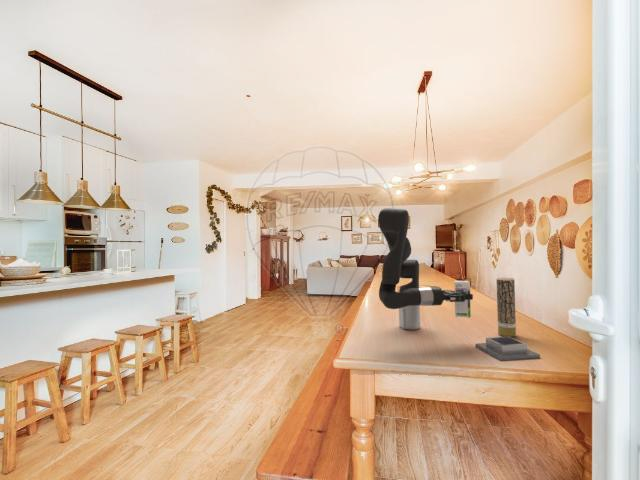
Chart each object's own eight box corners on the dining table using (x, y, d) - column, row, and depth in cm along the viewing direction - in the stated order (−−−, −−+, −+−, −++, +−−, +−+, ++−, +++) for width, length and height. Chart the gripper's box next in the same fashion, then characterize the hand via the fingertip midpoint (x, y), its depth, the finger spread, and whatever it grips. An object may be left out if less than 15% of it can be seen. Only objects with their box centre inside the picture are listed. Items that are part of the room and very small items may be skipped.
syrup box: (455, 316, 130) (454, 281, 130) (454, 313, 136) (454, 279, 136) (470, 318, 128) (470, 281, 128) (469, 314, 134) (469, 280, 134)
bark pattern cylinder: (518, 337, 136) (516, 279, 136) (501, 337, 137) (499, 279, 138) (512, 333, 143) (510, 277, 143) (495, 332, 144) (494, 277, 144)
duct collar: (500, 360, 112) (499, 348, 112) (475, 346, 127) (475, 336, 127) (540, 358, 113) (539, 346, 113) (511, 344, 128) (510, 333, 128)
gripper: (436, 289, 124) (476, 288, 125) (421, 284, 138) (457, 283, 139) (436, 309, 124) (477, 307, 125) (421, 302, 138) (458, 300, 139)
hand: (466, 294), depth 132 cm, fingers closed on syrup box, 7 cm apart
